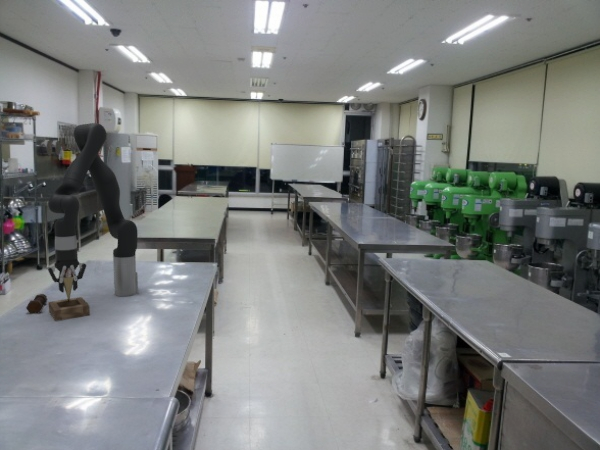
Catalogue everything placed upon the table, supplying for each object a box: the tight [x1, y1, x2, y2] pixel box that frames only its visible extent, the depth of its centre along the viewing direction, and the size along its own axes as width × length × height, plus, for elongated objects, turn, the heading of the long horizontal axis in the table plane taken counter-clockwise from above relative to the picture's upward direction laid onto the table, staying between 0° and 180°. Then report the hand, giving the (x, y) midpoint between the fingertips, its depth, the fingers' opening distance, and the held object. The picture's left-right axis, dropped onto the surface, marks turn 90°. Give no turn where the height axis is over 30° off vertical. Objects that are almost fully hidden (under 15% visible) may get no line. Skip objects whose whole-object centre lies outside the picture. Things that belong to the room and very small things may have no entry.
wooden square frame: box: [48, 296, 90, 322], centre depth 184 cm, size 12×12×4 cm
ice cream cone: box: [60, 268, 75, 302], centre depth 182 cm, size 6×6×15 cm
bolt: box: [26, 293, 48, 315], centre depth 190 cm, size 6×5×15 cm
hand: (68, 290), depth 183 cm, fingers closed on ice cream cone, 3 cm apart
